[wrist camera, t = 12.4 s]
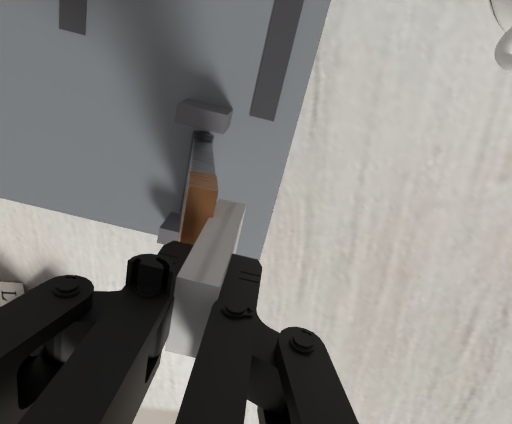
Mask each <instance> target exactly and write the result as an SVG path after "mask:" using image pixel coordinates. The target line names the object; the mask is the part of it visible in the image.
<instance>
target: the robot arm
mask: <svg viewBox="0 0 512 424" xmlns="http://www.w3.org/2000/svg"><path fill="white" fill-rule="evenodd" d="M245 209H246V205H245V204H240V203H236V202H232V201H228V200H223V199H219V200H218V202H217V204H216V206H215V211H214V216H213V218H209V219H208V220H207V222H206V224H205V226H204V228H203V230H202V231H201V233H200V235H199V237H198V239H197V241H196V242H195V244H194V245H191V244H187V243H183V242H179V241H174V240H173V241H171V242H169V243H167V244H165V245H164V246H163V247H162V249H161V250H160V251H159V253H158V254H157V255H155V254H141V255H138V256H134V257H132V258H131V259H130V260H128V265H127V275H126V285H125V286H124V288H123V289H122V290H120V291H110V292H106V291H94V286H93V284H92V282H91V281H89V280H88V279H87V278H84V277H81V276H77V275H64V276H58V277H55V278H52V279H50V280H48V281H46V282H44V283H42V284H40V285H39V286H37V287H35V288H33V289H32V290H30V291H28V292H26V293H24V294H23V295H21V296H19V297H17V298H15V299H14V300H12V301H10V302H8V303H6V304H5V305H3V306H1V307H0V424H132V423H133V421H134V418H135V416H136V414H137V412H138V410H139V408H140V405H141V403H142V401H143V399H144V397H145V394H146V392H147V390H148V388H149V386H150V384H151V381H152V379H153V377H154V375H155V373H156V370H157V368H158V366H159V364H160V358H161V352H162V349H163V347H164V344H165V342H166V347H165V351H169V352H173V353H178V354H182V355H186V356H190V357H195V358H196V359H195V363H194V366H193V369H192V372H191V375H190V378H189V382H188V385H187V388H186V391H185V394H184V398H183V401H182V404H181V407H180V410H179V413H178V417H177V420H176V423H175V424H244V417H245V409H246V401H247V400H249V401H251V402H252V403H254V404H256V405H257V406H258V408H257V412H258V418H259V424H359V423H358V421H357V419H356V416H355V414H354V412H353V409H352V407H351V405H350V403H349V400H348V398H347V396H346V393H345V391H344V389H343V386H342V384H341V382H340V379H339V377H338V375H337V373H336V370H335V368H334V366H333V363H332V361H331V359H330V356H329V354H328V352H327V350H326V347H325V345H324V343H323V342H322V340H321V339H320V338H319V337H318V336H317V335H315V334H314V333H313V332H311V331H309V330H307V329H305V328H300V327H288V328H286V329H284V330H282V331H281V333H279V332H277V331H275V330H273V329H271V328H269V327H268V326H266V325H265V324H264V323H263V322H262V321H261V320H260V319H259V317H258V315H257V312H256V307H257V300H258V293H259V287H260V280H261V273H262V266H261V264H260V262H259V261H258V259H254V258H250V257H246V256H242V255H237V254H236V249H237V245H238V240H239V236H240V231H241V227H242V222H243V218H244V214H245ZM166 340H167V341H166Z"/></svg>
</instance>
